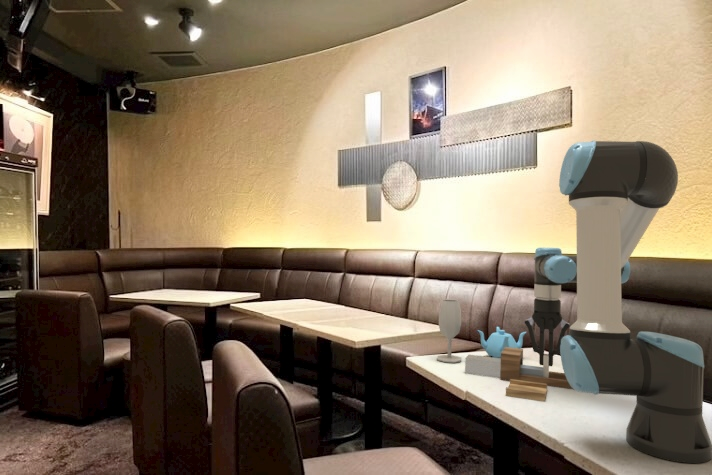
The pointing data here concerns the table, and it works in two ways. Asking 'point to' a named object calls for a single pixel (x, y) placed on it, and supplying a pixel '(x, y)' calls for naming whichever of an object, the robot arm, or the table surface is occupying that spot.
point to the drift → (531, 370)
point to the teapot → (500, 342)
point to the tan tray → (527, 390)
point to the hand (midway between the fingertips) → (545, 376)
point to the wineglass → (449, 326)
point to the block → (483, 366)
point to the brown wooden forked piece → (511, 370)
